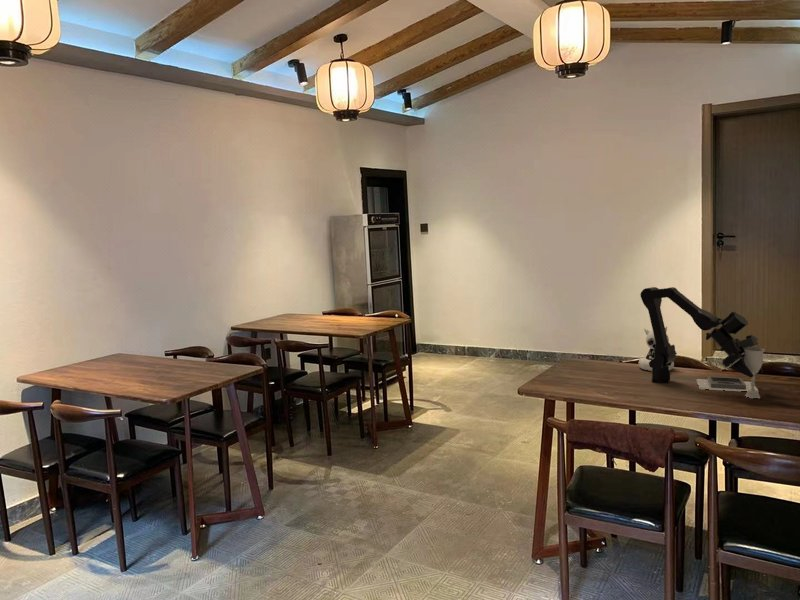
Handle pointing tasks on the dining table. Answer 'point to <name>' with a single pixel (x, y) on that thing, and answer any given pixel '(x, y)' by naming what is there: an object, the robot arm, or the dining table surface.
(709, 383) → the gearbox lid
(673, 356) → the robot arm
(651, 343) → the decorative figurine
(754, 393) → the chalice
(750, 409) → the dining table surface
